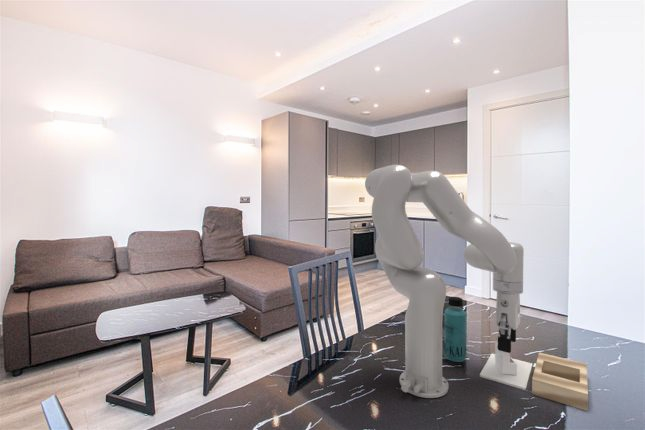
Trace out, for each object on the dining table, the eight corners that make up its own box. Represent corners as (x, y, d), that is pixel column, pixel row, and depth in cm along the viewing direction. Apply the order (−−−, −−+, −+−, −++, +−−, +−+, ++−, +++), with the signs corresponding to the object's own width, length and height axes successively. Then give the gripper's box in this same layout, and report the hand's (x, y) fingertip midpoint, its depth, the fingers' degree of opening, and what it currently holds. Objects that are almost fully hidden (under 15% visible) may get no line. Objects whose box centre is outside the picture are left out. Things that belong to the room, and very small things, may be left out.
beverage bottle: (449, 354, 104) (449, 293, 104) (470, 361, 100) (470, 297, 99) (439, 362, 100) (439, 297, 99) (461, 369, 95) (461, 302, 94)
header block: (587, 410, 76) (588, 394, 76) (532, 394, 83) (532, 378, 83) (586, 377, 90) (586, 363, 90) (538, 365, 97) (539, 352, 97)
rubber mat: (525, 390, 84) (525, 388, 84) (479, 376, 91) (479, 374, 91) (532, 365, 97) (532, 363, 97) (491, 355, 104) (491, 353, 104)
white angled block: (508, 372, 87) (502, 338, 91) (497, 375, 95) (491, 343, 100) (523, 373, 86) (516, 338, 90) (510, 376, 95) (504, 344, 99)
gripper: (518, 294, 84) (517, 361, 85) (526, 281, 98) (526, 338, 98) (486, 290, 89) (485, 353, 89) (498, 278, 102) (498, 333, 103)
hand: (506, 345), depth 94 cm, fingers open, 8 cm apart
